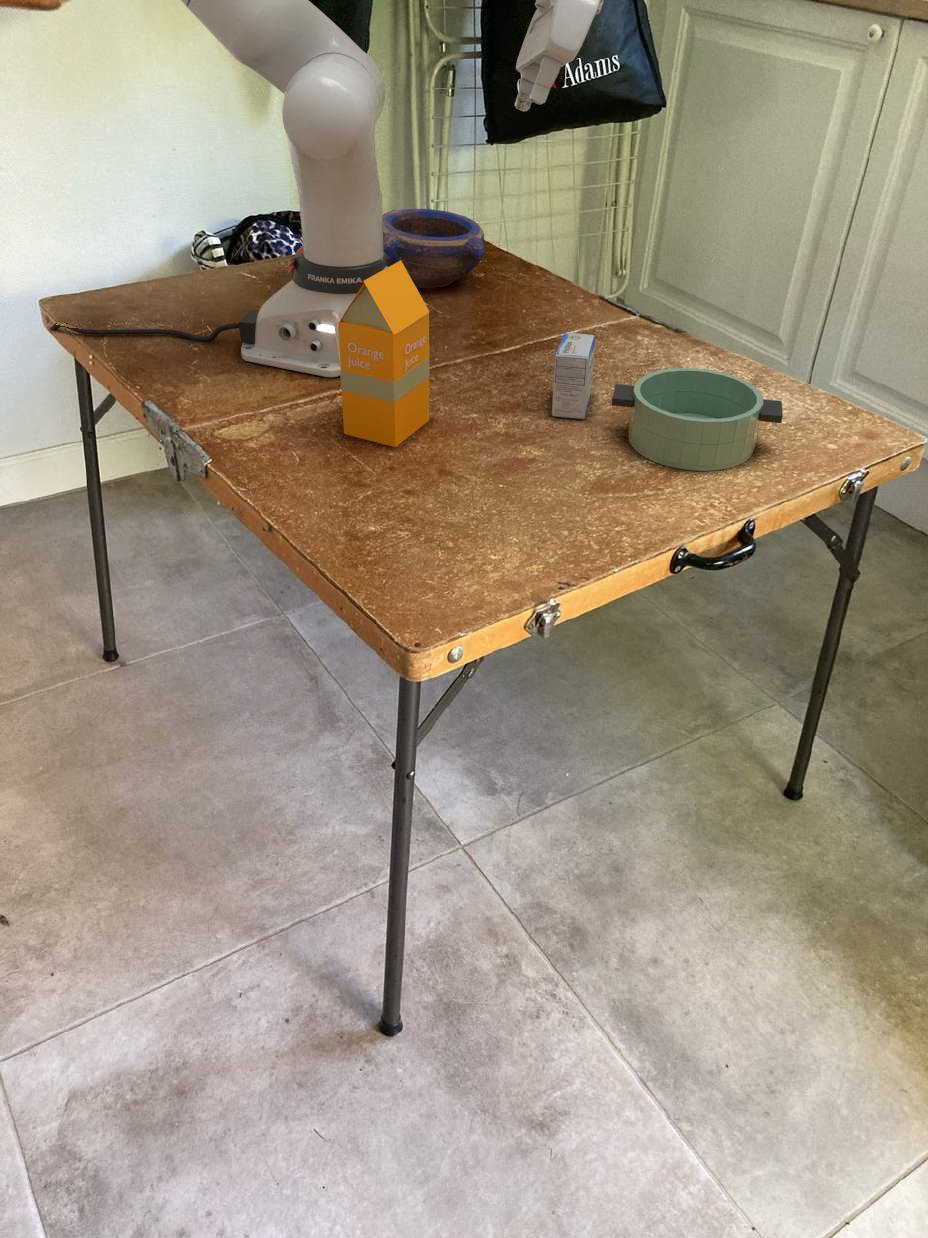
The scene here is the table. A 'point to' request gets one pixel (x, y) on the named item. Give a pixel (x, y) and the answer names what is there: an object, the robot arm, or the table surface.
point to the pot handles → (768, 414)
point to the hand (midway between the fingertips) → (528, 105)
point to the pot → (694, 419)
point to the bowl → (432, 244)
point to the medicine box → (573, 375)
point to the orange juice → (385, 359)
